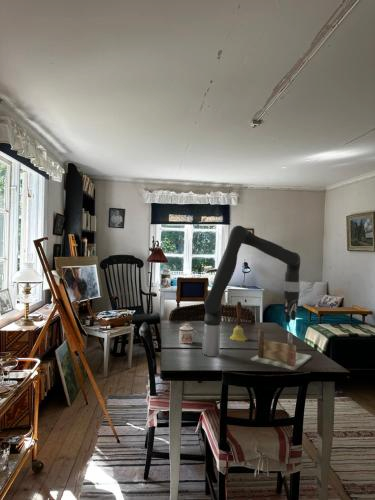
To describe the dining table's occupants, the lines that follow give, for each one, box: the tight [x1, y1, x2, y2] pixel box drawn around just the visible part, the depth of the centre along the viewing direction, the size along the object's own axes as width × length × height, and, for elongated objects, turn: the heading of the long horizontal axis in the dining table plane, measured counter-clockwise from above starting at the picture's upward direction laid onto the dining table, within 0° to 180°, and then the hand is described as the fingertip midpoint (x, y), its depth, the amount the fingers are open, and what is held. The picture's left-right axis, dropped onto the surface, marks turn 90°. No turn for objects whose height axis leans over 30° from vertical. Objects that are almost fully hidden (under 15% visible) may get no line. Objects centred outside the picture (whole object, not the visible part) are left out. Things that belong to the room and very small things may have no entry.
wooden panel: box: [263, 332, 297, 363], centre depth 186 cm, size 17×2×15 cm, turn 56°
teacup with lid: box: [178, 323, 199, 344], centre depth 222 cm, size 12×9×12 cm
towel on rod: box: [250, 328, 312, 371], centre depth 193 cm, size 24×28×16 cm
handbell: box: [229, 301, 248, 342], centre depth 234 cm, size 12×12×25 cm
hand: (290, 321), depth 182 cm, fingers open, 8 cm apart
